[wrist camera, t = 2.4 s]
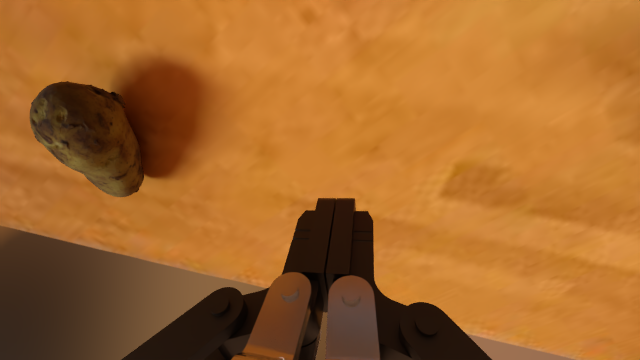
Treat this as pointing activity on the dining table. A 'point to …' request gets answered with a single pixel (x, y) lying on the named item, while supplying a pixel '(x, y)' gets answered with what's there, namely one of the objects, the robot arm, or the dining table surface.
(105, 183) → the potato
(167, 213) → the dining table surface
